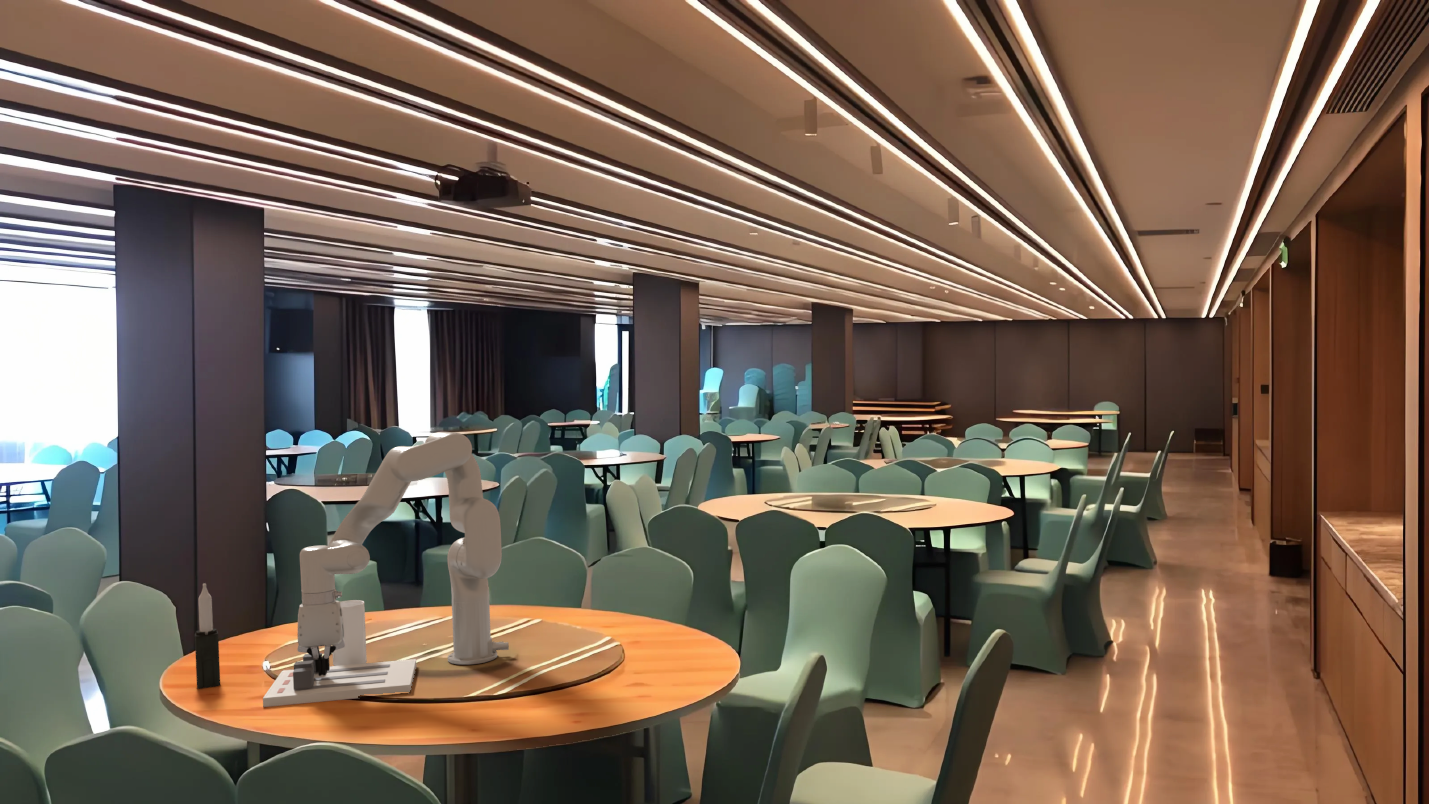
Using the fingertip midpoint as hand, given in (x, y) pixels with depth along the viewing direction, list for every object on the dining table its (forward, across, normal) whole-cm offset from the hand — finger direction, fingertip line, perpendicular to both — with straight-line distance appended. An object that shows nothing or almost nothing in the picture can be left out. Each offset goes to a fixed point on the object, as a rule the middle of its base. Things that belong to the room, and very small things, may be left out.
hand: (322, 674), depth 251 cm
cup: (+4, -4, -20) cm, 21 cm away
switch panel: (+3, -5, 0) cm, 6 cm away
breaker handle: (+1, +4, 0) cm, 4 cm away
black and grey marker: (+3, +28, -12) cm, 31 cm away
